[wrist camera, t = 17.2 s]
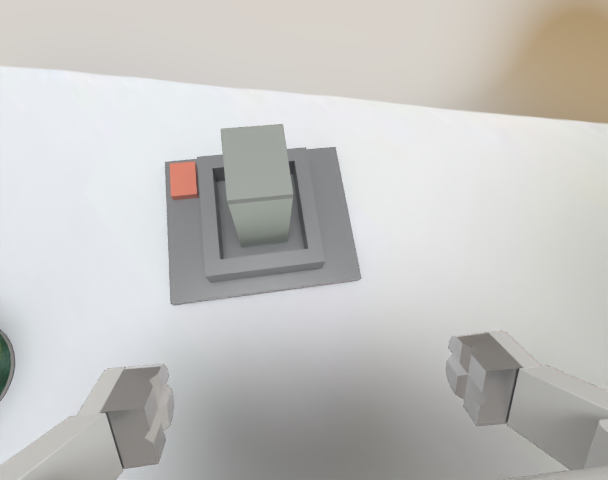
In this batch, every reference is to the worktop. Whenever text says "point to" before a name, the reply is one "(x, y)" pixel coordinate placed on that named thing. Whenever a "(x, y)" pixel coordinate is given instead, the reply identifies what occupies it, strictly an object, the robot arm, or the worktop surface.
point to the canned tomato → (5, 363)
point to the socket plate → (264, 258)
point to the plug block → (258, 183)
